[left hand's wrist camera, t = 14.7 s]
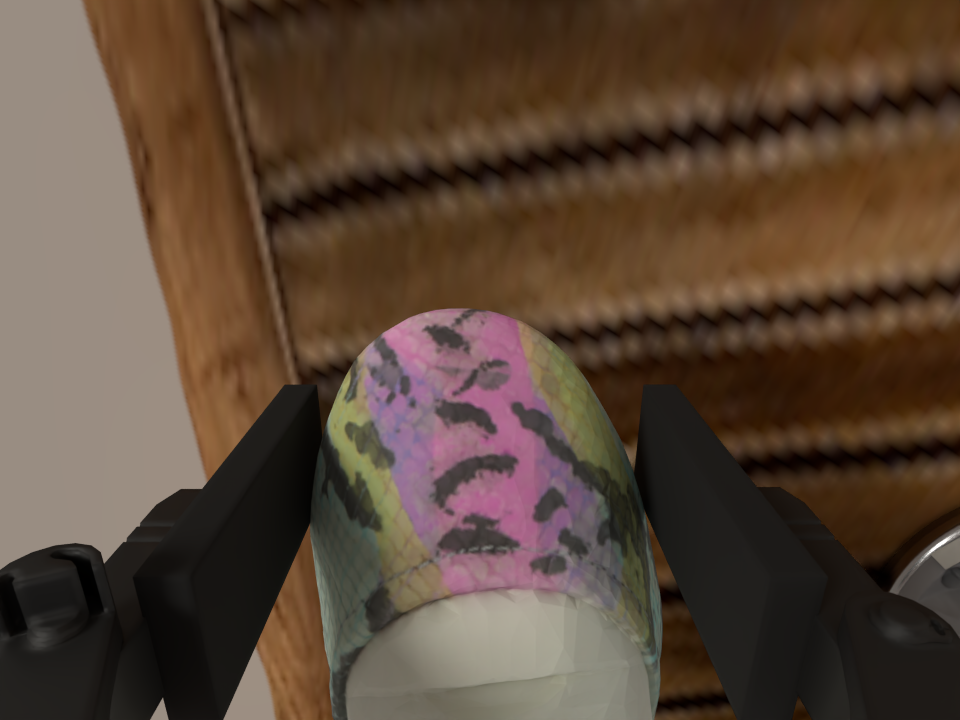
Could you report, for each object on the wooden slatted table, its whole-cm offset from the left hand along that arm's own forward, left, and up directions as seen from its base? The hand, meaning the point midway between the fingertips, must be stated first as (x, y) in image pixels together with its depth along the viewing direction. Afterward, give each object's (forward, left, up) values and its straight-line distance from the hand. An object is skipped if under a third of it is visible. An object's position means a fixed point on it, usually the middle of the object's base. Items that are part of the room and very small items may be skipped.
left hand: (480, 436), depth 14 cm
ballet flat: (+1, +9, -1) cm, 9 cm away
